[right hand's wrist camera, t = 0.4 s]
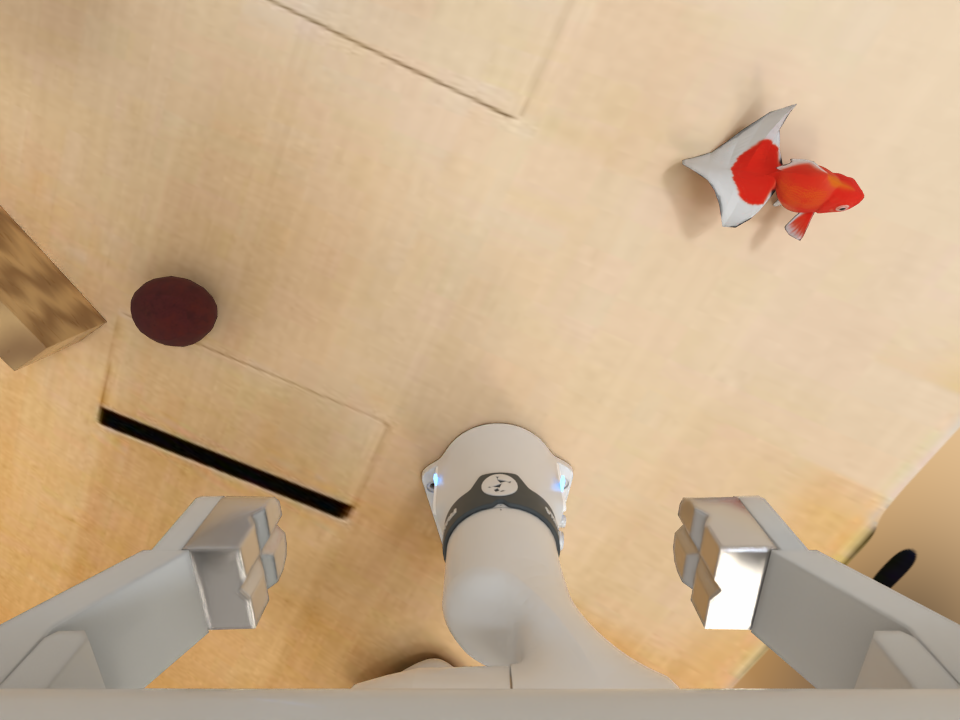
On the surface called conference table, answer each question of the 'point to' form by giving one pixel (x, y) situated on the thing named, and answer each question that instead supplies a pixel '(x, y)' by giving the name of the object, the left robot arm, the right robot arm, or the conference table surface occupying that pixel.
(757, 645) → the conference table surface
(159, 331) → the dark red ball
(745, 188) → the fish
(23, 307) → the bar
